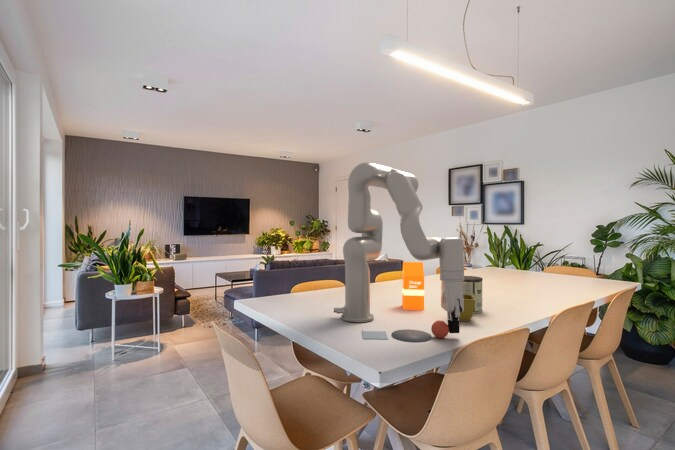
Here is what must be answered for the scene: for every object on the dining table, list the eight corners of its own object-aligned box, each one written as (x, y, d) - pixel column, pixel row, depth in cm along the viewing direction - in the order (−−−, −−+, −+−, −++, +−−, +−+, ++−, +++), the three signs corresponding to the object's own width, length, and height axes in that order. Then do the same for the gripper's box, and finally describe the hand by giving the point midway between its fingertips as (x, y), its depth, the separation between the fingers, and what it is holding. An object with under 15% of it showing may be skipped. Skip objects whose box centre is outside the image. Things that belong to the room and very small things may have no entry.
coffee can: (460, 306, 163) (460, 275, 163) (484, 309, 158) (484, 277, 158) (453, 311, 154) (454, 278, 154) (479, 314, 149) (479, 280, 149)
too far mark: (363, 339, 117) (363, 338, 117) (362, 331, 125) (362, 331, 125) (388, 339, 117) (388, 338, 117) (385, 331, 125) (385, 331, 125)
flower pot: (475, 323, 136) (475, 299, 136) (450, 322, 138) (451, 298, 138) (471, 317, 145) (471, 294, 145) (448, 316, 146) (448, 293, 146)
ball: (447, 343, 117) (431, 338, 116) (443, 335, 122) (427, 330, 122) (453, 327, 116) (437, 322, 116) (448, 320, 121) (433, 315, 121)
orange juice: (402, 305, 166) (402, 261, 166) (421, 305, 165) (422, 261, 165) (403, 309, 158) (403, 262, 158) (424, 309, 157) (424, 263, 157)
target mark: (394, 341, 114) (394, 341, 114) (389, 329, 127) (389, 329, 127) (436, 342, 114) (436, 341, 114) (426, 330, 127) (426, 329, 127)
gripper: (434, 273, 126) (436, 326, 126) (446, 278, 111) (448, 339, 111) (456, 272, 126) (458, 326, 126) (471, 278, 111) (473, 339, 111)
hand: (453, 332), depth 119 cm, fingers closed
